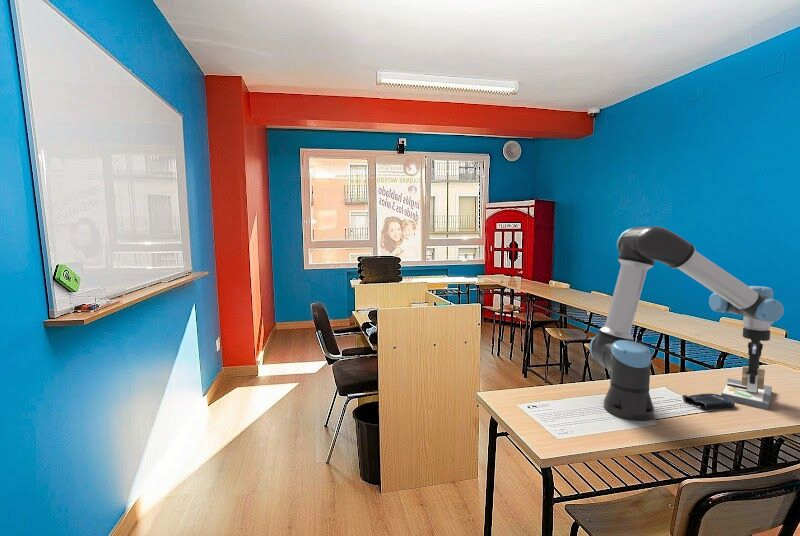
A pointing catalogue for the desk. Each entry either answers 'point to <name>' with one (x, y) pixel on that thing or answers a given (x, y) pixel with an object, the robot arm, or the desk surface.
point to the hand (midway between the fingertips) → (752, 389)
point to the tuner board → (747, 394)
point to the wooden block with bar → (745, 377)
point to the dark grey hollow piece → (710, 400)
